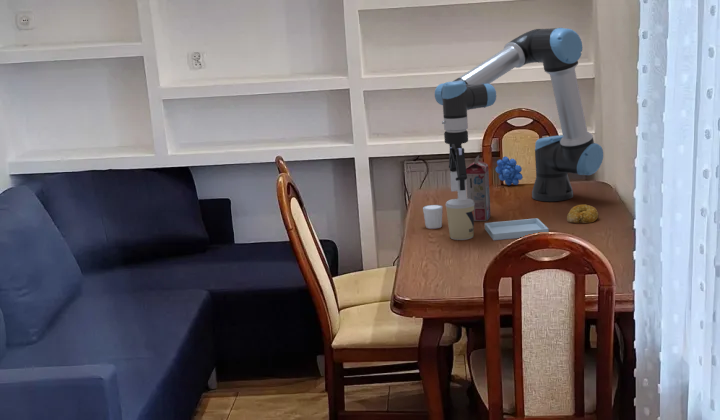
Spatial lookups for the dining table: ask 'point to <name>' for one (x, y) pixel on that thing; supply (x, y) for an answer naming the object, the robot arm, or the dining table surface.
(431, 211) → the white tapered cylinder
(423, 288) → the dining table surface
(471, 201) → the coffee cup
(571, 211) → the bagel
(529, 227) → the tray
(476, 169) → the juice carton
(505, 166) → the grapes
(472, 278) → the dining table surface
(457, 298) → the dining table surface
